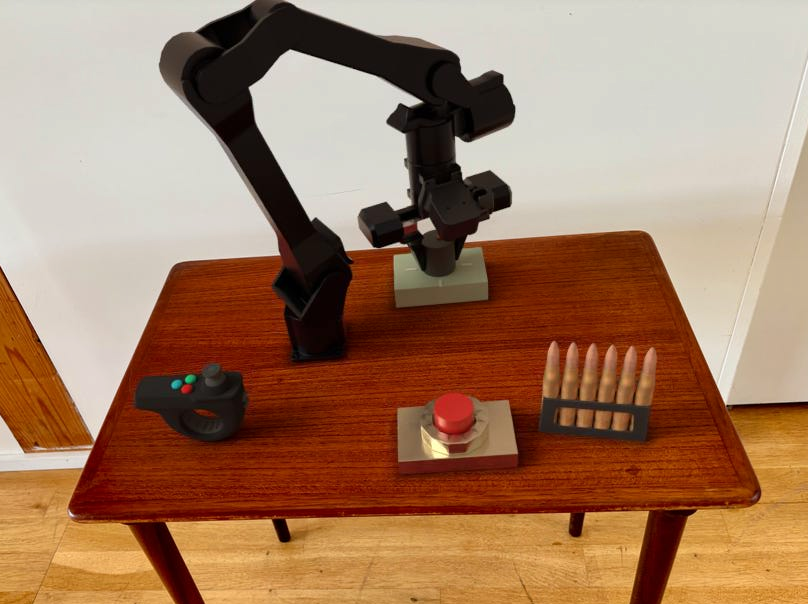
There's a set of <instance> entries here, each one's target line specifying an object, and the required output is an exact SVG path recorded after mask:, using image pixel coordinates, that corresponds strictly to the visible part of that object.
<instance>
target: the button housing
mask: <svg viewBox="0 0 808 604" xmlns="http://www.w3.org/2000/svg"><path fill="white" fill-rule="evenodd" d="M443 395H444V394H442V395H440V396H438V397H436V398H434V399H432V400H430V401H429V402H427V404H426V405H419V406H404V407H397V408H396V418H397V419H396V423H397V464H398V470H399V475H401V476H403V475H417V474H433V473H434V474H435V473H447V472H449V473H450V472H462V471H480V470H494V469H495V470H496V469H508V468H509V469H511V468H518V466H519V450H518V449H519V448H518V444H517V438H516V434H515V428H514V422H513V417H512V410H511V406H510V401H509V399H500V400H488V401H480V400H479V399H478V398H476V397H473V396H471V395H467V394H465V395H466V396H467V397H469V398H470V399H471V400H472V402H473V405H474V423H473V425H472V427H471V428H470V429H469V430H468V431H466V432H464V433H462V434H457V435H451V434H446V433H444V432H442V431H441V430H439V429H438V427H437V426H436V424H435V416H434V404H435V402H436V400H437V399H438V398H439V397H441V396H443Z"/></svg>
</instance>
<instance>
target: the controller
mask: <svg viewBox="0 0 808 604" xmlns="http://www.w3.org/2000/svg"><path fill="white" fill-rule="evenodd" d="M248 393H249V391H248V390H247V389H246V388H245V385H244V375H243V374H242V372H240V371H233V370H225V371H224V370H223V368H222V365H221V364H220V363H216V362H210V363H208V364H206V365H204V367H203V368H202V370H201V372H199V373H190V374H189V373H188V374H185V373H184V374H168V375H167V374H165V375H147V376H144V377H143V378H141V379H140V381H139V382H138V383H137V386H136V388H135V390H134V394H133V407H134V409H137V410H141V411H145V412H153V413H155V414H158V415H159V416H160V417H161V418H162V420H163V421H164V423H165V424H166V425H167V426H168V427H169V428H170V429H171V430H172V431H174V432H176V433H178V434H179V435H182V436H183V437H186V438H189V439H191V440H195V441H201V442H216V441H222V440H224V439H227V438H229V437H232V435H234V434H235V433H236V432H237V431H238V430H239V428H241V426H242V424H243V422H244V419H245V416H246V412H247V408H248V407H249V403H250V396H248ZM197 410H200V411H204V412H205V411H206V412H208V413H211V414H213V415H215V417H211V416H205V415H203V414H201V413H199V412H197Z"/></svg>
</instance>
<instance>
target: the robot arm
mask: <svg viewBox="0 0 808 604" xmlns="http://www.w3.org/2000/svg"><path fill="white" fill-rule="evenodd" d="M289 51H294V52H297V53H300V54H304V55H307V56H309V57H313V58H316V59H319V60H323V61H325V62H329V63H332V64H335V65H338V66H342V67H344V68H345V67H346V68H348V69H351V70H355V71H358V72H361V73H365V74H368V75H371V76H375V77H377V78H378V79H380V80H381V81H383V82H385V83H386V84H388V85H390V86H392V87H394V88H395V89H397V90H399V91H401V92H402V93H405V94H407V95H408V96H410V97H413V98H414V99H416V100H419V101H420V102H418V103H416V104H413V105H410V106H408V105H406V104H404V103H402V102H399V103H398V104H397V106H396V108H395V109H394V111H393V112H392V113H390V114H389V116H388V117H387V118H386V120H385V123H386V125H387V126H389V127H390V128H392V129H394V130H396V131H398V132H400V133H401V134H403V135H404V138H405V140H404V141H405V149H406V157H405V158H403V164H404V168H406V170H408V181H409V188H406V195H407V198H409V200H410V205H407V206H404V207H403V208H399V209H396V210H395V209H394V208H393V207H392V206H391V204H389V202H388V201H383V202H379V203H376V204H373V205H370V206H367V207H364V208H361V209H360V210H359V212H358V215H357V224H358V229H359V230H360V232H361V233H362V234H363V236H364V237H365V239H366V240H367V242H369V244H370V245H371V246H372V248H374V249H382V248H385V247H388V246H392V245H395V244H398V243H399V244H401V245H405V246H406V245H407V248H408V250H409V251H410V254H411V253H412V255H413V257H414V259H415V261H416V263H417V264H418V266H419V268H420V269H421V271H422V272H423V271H425V258H424V252H423V246H422V240H423V239H424V236H423V233H422V232H421V231H420V230H419V228H418V223H419V222H420V221H425V220H428V219H429V220H430V222H431V224H432V225H433V227H434V230H436V231H437V232H438V235H439V237H440V239H441V240H443V241H446V242H450V241H454V240H455V261H457V260H458V259H459V257H460V254H461V251H462V249H464V246H465V243H466V240H467V238H468V236H472V235H475V234H476V233H477V232H478V229H479V225H480V223H482V222H484V221H488V220H490V219H491V215H493V213H496V212H499V211H503V210H505V209H506V210H507V209H509V208H511V207H512V204H513V191H512V188H511V186H510V185H509V184H508V183H506V181H504V180H503V179H502V178H501V177H500V176H499V175H497V174H496V172H494V171H492V170H491V169H489V170H486V171H482V172H479V173H475V174H472V175H468V176H466V177H465V178H464V179H463V172H462V166H461V165H460V164H458V162H457V149H456V147H457V146H456V138H458V139H459V140H460V141H462V142H464V143H468V144H469V143H472V142H475V141H478V140H480V139H483V138H484V137H488V136H489V135H492V134H494V133H496V132H500V131H502V130H505V129H507V128H509V127H510V126H512V124H513V123H514V121H515V118H516V111H517V109H516V107H517V106H516V105H515V104H514V99H513V97H512V96H513V95H512V94H511V92H510V90H509V89H508V87H507V86H506V85H505V83H504V82H505V75H504V74H503V73H502V72H500V71H496V70H494V69H491V70H488V71H485V72H483V73H482V74H480V75H479V76H477V77H474V78H471V79H470V80H468V78H467V77H466V76H465V75H464V74H463V73H462V65H461V57H459V55H458V54H457V53H455V52H454V51H453V50H450V49H447V48H445V47H443V46H440V45H437V44H435V43H432V42H430V41H427V40H425V39H422V38H419V37H414V36H404V35H396V34H395V35H394V34H393V35H382V34H381V35H380V34H375V33H371V32H369V31H366V30H363V29H360V28H357V27H355V26H352V25H349V24H347V23H343V22H341V21H338V20H335V19H332V18H329V17H326V16H324V15H321V14H318V13H315V12H312V11H310V10H307V9H303V8H301V7H298V6H296V5H295V4H293V3H292V2H289V1H288V0H253V1H252V2H250V3H248V4H247V5H245V6H244V7H243V8H240V9H238V10H236V11H234V12H231V13H228V14H225V15H223V16H221V17H219V18H218V17H217V18H216V19H213V20H211V21H209V22H208V23H206V24H204V25H202V26H201V27H199V28H198V29H196V30H195V31H183V32H179V33H176V34H175V35H173V36H172V37H171V38H169V40H168V41H166V42H165V44H164V46H163V48H162V50H161V51H160V57H159V62H158V69H159V73H160V76H161V78H162V80H163V82H164V83H165V85H167V87H168V88H169V89H170V90H171V91H172V92H173V93H174V94H175V96H177V98H178V99H179V100H180V102H182V103H183V104H184V105H185V106H186V107H187V109H188V110H189V111H191V113H192V114H193V115H194V116H195V117H196V118H197V119H198V120H199V121H200V122H201V123H202V124H203V125H204V126H205V127H206V128H207V130H209V131H210V133H211V134H212V135H213V136H214V137H215V139H216V141H217V142H218V143H219V145H220V147H221V148H222V150H223V151H224V153H225V155H226V156H227V158H228V160H229V161H230V163H231V164H232V166H233V167H234V169H235V171H236V172H237V174H238V176H239V178H240V179H241V180H242V182H243V183H244V185H245V187H246V189H247V190H248V192H249V193H250V195H251V196H252V198H253V199H254V201H255V203H256V204H257V206H258V208H259V209H260V211H261V213H262V214H263V215H264V217H265V219H266V221H267V222H268V223H269V226H270V227H271V229H272V230H273V232H274V233H275V236H276V238H277V249H278V253H279V256H280V258H281V261H282V264H283V265H282V266H281V268H280V269H279V271H278V273H277V274H276V276H275V278H274V280H273V282H271V285H270V288H271V290H273V292H274V293H275V295H276V296H277V297H278V298H279V299H281V300H282V302H283V303H285V304H284V309H283V318H284V319H283V320H284V323H285V327H286V330H287V334H288V338H289V342H290V345H291V349H290V350H291V351H290V361H291V362H293V363H299V362H301V363H302V362H311V361H312V362H313V361H323V360H324V361H325V360H337V359H338V360H339V359H342V358H343V356H344V346H345V345H346V344H347V338H348V329H347V328H348V327H347V322H346V317H345V312H344V310H345V306H346V299H347V295H348V289H349V287H350V286H351V285H350V284H351V282H352V280H354V279H353V278H354V273H353V269H352V267H351V265H353V264H355V261H354V260H353V259H352V258H351V257H350V256H349V255H348V254H347V252H346V249H345V246H344V243H343V240H342V239H341V237H340V236H339V235H338V234H337V233H336V232H334V230H332V229H331V228H330V227H328V226H327V224H325V223H324V222H323V221H321V219H319V218H318V217H316V216H315V217H314V218H313V219H312V220H311V219H310V217H309V214H308V213H307V212H306V210H305V208H304V206H303V205H302V203H301V201H300V199H299V197H298V196H297V193H296V192H295V190H294V188H293V187H292V185H291V183H290V182H289V179H288V178H287V176H286V174H285V172H284V171H283V169H282V167H281V165H280V164H279V162H278V159H276V157H275V154H274V153H273V151H272V149H271V148H270V146H269V144H268V142H267V141H266V139H265V137H264V136H263V134H262V132H261V130H260V129H259V126H258V124H257V122H256V113H255V107H254V106H255V105H254V98H253V95H252V93H251V90H250V87H252V86H254V85H255V84H256V83H258V82H259V81H261V80H262V79H263V78H264V77H265V76H266V75H267V74H268V72H269V71H270V70H271V69H272V67H273V66H274V65H275V64H276V63H277V61H278V60H279V59H280V57H282V56H283V55H284V54H286V53H288V52H289Z"/></svg>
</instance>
